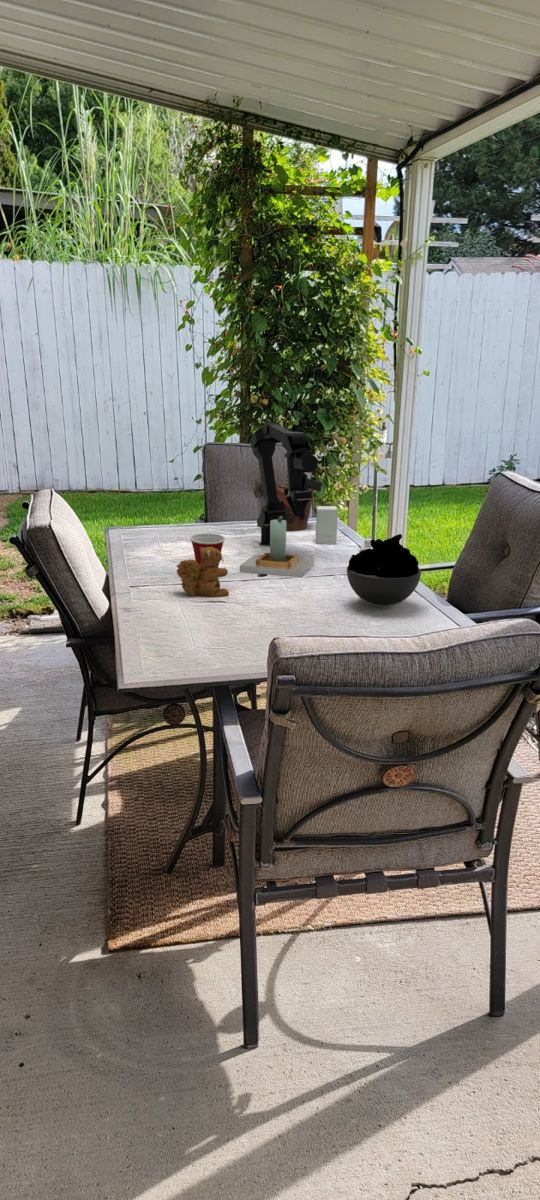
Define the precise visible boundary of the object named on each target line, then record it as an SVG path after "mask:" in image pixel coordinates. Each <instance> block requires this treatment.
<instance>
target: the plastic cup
mask: <svg viewBox="0 0 540 1200" xmlns="http://www.w3.org/2000/svg"><path fill="white" fill-rule="evenodd" d="M189 540H190V542H191V545H192V548H193V554H194V560H195V561H197V563H198V564H199V565H200V563H201V556H200V555H201V552H200V548H201V547H203V548H206V547H213V548H216V549H217V550H219V551H220V552H221V553H222V551H223V550H222V548H223V545H224V542H225V541H226V537H225V536H224V535H221V534H219V533H214V532H213V533H212V532H199V533H194V534H192V535H191V536H189ZM216 566H217V567H218V568H219V566H220V562H219V563H217V564H216Z"/></svg>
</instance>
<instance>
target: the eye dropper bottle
mask: <svg viewBox="0 0 540 1200" xmlns="http://www.w3.org/2000/svg"><path fill="white" fill-rule="evenodd" d="M371 540H373V539H372V538H371V534H368V535H367V537H366V538H364V544H363V546H361V547H359V551H358V553H359V552H360V551H362V550H365V549H373V548H372V546H371Z"/></svg>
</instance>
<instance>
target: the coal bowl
mask: <svg viewBox="0 0 540 1200" xmlns="http://www.w3.org/2000/svg"><path fill="white" fill-rule="evenodd" d="M402 538H403V535H402V533H398V534H396V535H394V536H392V537H390V538H387V539H384V540H382V539H381V538H377V539H376V540H375V539H372V540H371V546H372V548H373V549H365V550H362V551H360V552H359V551H358V553H356V554H352V555H351V556H350V558H349V560H348V566H347V567H346V577H347V580H348V582H349V586H350V587H351V589H352V590H353V592H354V593H355V594H356V595H357V596H358V598H360V599H361V600H363V601H365V602H366V603H368V604H371V605H374V606H378V607H389V606H394V605H397V604H399V603H401V602H404V601H405V600H407V598H409V597H410V596H411V595H412V594H413V592H414V591H415V590H416V588H417V587H418V585H419V582H420V579H421V576H422V570H421V569H420V567H419V564H420V562H419V560H418V559H417V557H416V556H415V555H414V554H411V550H410V548H409V549H408V548H406V547H404V546H403V545H402V544H400V542H401V539H402Z"/></svg>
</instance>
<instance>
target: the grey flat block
mask: <svg viewBox="0 0 540 1200" xmlns="http://www.w3.org/2000/svg"><path fill="white" fill-rule="evenodd" d="M314 566H315V559H314V558H304V557H300V555H299V554H298V555H297V554H287V553H286V562H282V561H270V552H264V554H254V555H251V556H250V557H249V558H248V559H247V560H245V561H243V563H241V564H240V565H239V572H240V573H249V574H251V573H252V574H262V575H263V574H264V575H274V576H285V577H286V576H287V577H297V578H302V577H304V576H305V575H306V574H307V573H308V572H309V571H310V570H311V569H312V568H313V567H314Z"/></svg>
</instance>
